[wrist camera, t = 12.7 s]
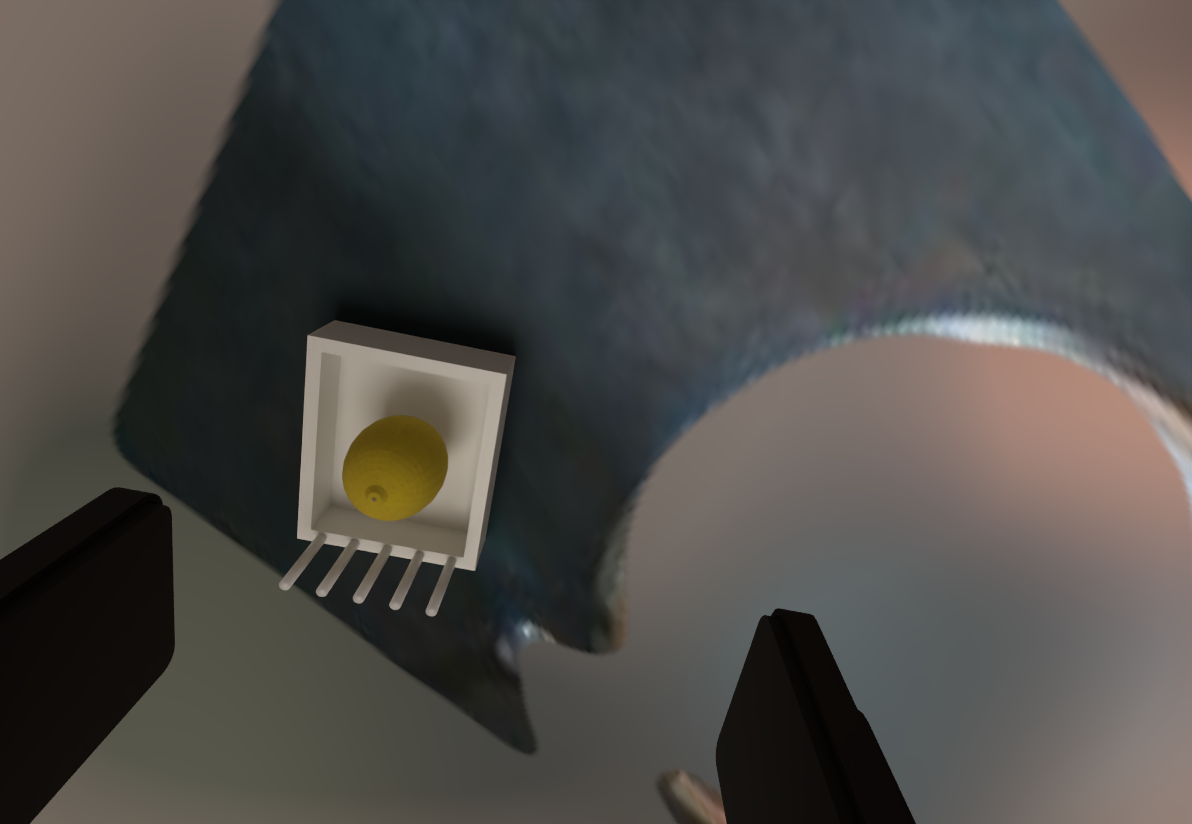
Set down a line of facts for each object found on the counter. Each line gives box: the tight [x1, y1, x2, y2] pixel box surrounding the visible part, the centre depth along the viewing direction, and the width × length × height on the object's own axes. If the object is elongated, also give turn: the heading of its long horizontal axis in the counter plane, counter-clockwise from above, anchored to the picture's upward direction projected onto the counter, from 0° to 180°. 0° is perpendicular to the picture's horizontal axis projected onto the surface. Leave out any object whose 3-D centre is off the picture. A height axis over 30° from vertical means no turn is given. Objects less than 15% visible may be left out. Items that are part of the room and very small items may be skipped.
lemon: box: [342, 415, 448, 521], centre depth 38 cm, size 6×6×8 cm
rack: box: [279, 320, 516, 616], centre depth 38 cm, size 13×11×9 cm
